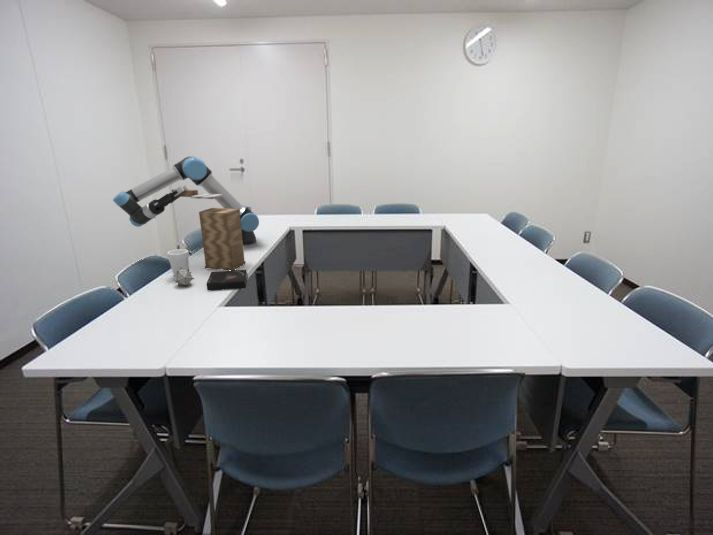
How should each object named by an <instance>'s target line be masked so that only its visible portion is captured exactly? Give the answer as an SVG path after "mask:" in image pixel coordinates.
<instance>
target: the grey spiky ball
mask: <svg viewBox="0 0 713 535" xmlns="http://www.w3.org/2000/svg"><path fill="white" fill-rule="evenodd" d="M177 272H178V271H177ZM172 277H174V279H175V283H176V284H177V286H180V285H182V286H185V287H186V288H187V285H189V284H190V282H191V281H192V280H195V278H194V277H193V275H192V271H191V272H190V268H189V269H188V270H183V269H182V268H181V270H180V271H179V272H178V273H177V274H176V275H175V276H174V274H173V275H172Z"/></svg>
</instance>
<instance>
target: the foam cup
mask: <svg viewBox="0 0 713 535" xmlns="http://www.w3.org/2000/svg"><path fill="white" fill-rule="evenodd" d="M189 257H190V252H189V250H188V249H185V248H179V249H173V250H170V251H167V258H168V260H169V264H170V268H171V270H172V274H173V275H174V276H175V275H176V274H177V273H178V272H179V271H180V270H181V268H182V269H183V270H188V269H189V270H190V268H189V267H190V266H189V265H190V263H189V262H190V261H189V260H190V259H189ZM177 271H178V272H177ZM174 276H173V277H174Z"/></svg>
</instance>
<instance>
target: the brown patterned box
mask: <svg viewBox="0 0 713 535" xmlns="http://www.w3.org/2000/svg"><path fill="white" fill-rule="evenodd" d="M198 216H199V221H200V223H199V224H200V230H201V231H200V232H201V239H202V240H201V241H202V246H203V248H202V249H203V255H204V264H205V265H204V269H206V268H211V269H210V270H218V269H223V270H222V271H229V270H235V269H236V270H238V269H240V268H241V267H242V266H244V265H245V263H247V262H246V261H245V253H244V245H243V240H242V229H241V218H240V209H227V208H223V207H222V208H221V207H211V208H208V209H204V210H201V211H199V212H198ZM243 264H244V265H243ZM240 266H241V267H240ZM237 268H238V269H237Z"/></svg>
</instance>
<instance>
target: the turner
mask: <svg viewBox="0 0 713 535" xmlns="http://www.w3.org/2000/svg"><path fill="white" fill-rule="evenodd" d="M176 189H177V188H175V189H171V193H172V192H173V191H174V190H176ZM222 196H223V194H209V193H199V191H198V189H189V190H184V191H183V192H182V193H180V194H179V195H177V197H179V198H181V197H183V198H190V199H197V200H198V199H199V200H200V199H201V200H215V198H218V197H222Z"/></svg>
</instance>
